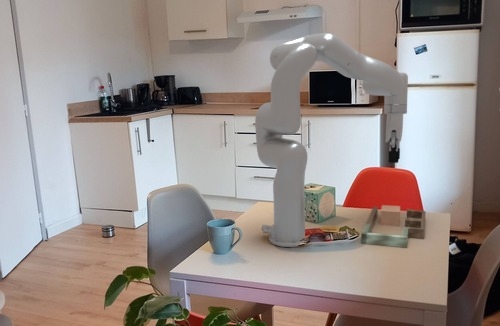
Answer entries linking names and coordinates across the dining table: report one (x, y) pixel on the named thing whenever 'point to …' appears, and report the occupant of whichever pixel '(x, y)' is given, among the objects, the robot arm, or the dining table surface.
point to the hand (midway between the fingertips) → (394, 160)
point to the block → (390, 215)
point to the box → (411, 230)
